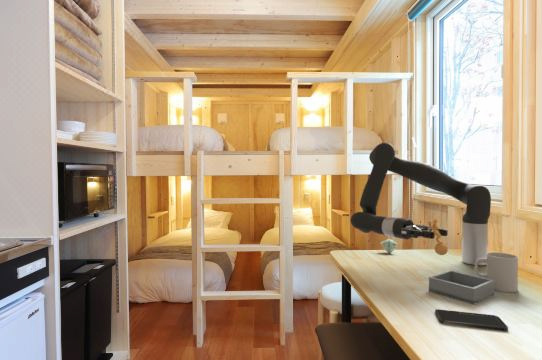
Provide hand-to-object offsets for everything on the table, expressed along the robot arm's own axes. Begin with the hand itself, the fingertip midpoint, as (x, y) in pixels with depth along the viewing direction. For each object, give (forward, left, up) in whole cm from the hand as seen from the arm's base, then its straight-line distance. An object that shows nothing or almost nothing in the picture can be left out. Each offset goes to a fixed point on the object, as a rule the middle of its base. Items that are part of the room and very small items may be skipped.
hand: (440, 234), depth 111 cm
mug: (-14, +11, -18) cm, 25 cm away
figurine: (0, -1, -7) cm, 7 cm away
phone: (+20, +18, -18) cm, 33 cm away
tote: (+1, +7, -18) cm, 19 cm away
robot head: (-28, -39, -18) cm, 51 cm away
